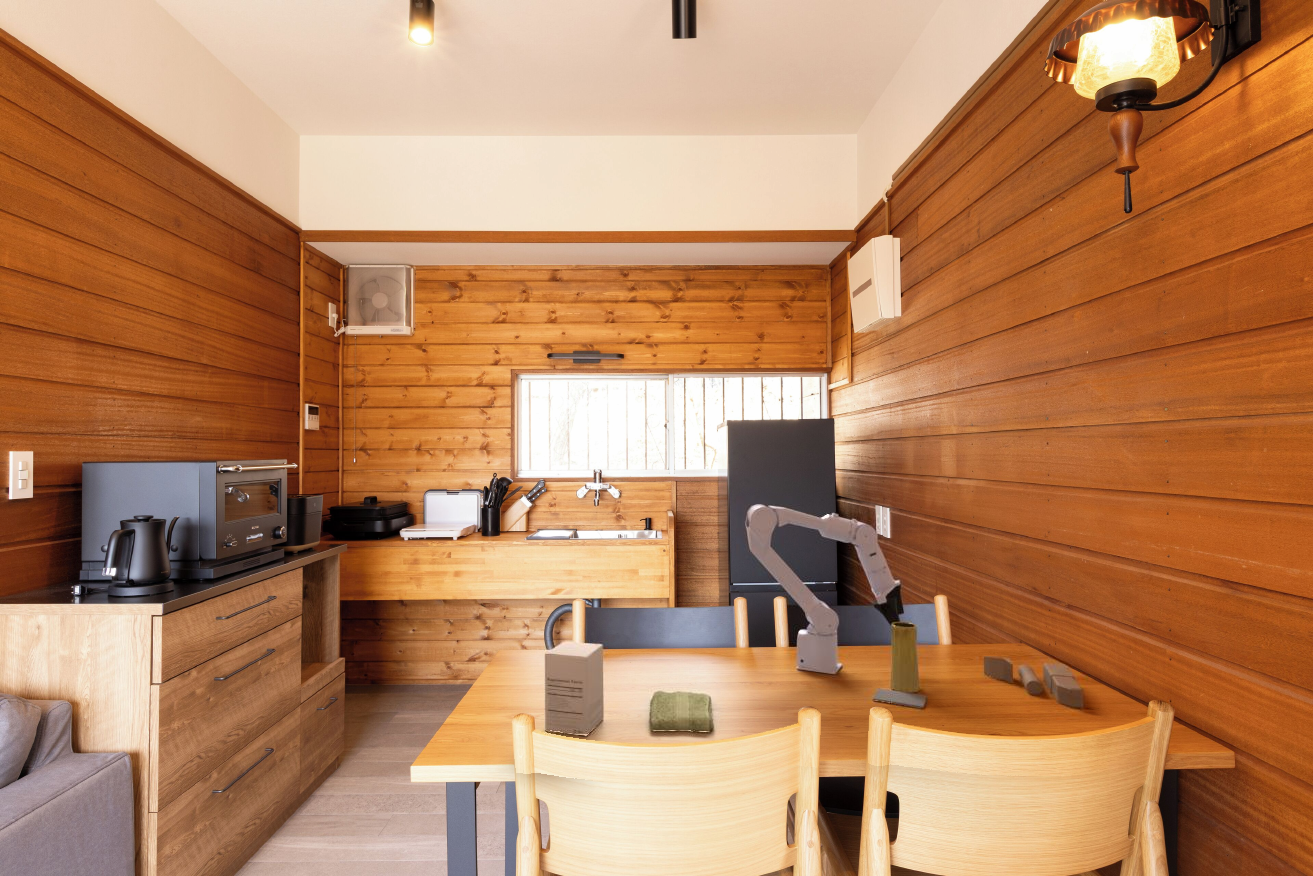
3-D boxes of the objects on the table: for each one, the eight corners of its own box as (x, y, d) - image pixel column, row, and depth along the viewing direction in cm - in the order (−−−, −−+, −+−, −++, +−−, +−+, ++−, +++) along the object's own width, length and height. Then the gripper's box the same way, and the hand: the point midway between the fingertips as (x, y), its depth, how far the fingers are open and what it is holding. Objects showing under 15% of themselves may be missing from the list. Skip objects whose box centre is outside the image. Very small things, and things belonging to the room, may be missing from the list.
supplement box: (563, 714, 134) (563, 640, 134) (604, 719, 131) (604, 643, 132) (543, 732, 125) (543, 652, 125) (586, 737, 122) (586, 656, 123)
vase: (922, 694, 144) (920, 628, 144) (892, 692, 145) (891, 627, 146) (916, 684, 150) (915, 621, 150) (888, 683, 151) (887, 620, 152)
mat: (872, 700, 140) (872, 698, 140) (878, 690, 146) (878, 688, 146) (923, 708, 135) (923, 706, 135) (926, 698, 142) (926, 695, 142)
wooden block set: (1064, 658, 152) (1084, 684, 135) (1065, 683, 151) (1085, 712, 135) (983, 651, 158) (992, 674, 141) (983, 675, 158) (992, 701, 141)
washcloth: (711, 702, 141) (711, 687, 141) (714, 736, 124) (714, 719, 124) (650, 701, 142) (650, 686, 142) (645, 735, 124) (645, 718, 124)
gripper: (888, 574, 154) (911, 628, 154) (895, 555, 167) (917, 605, 167) (859, 581, 158) (882, 634, 157) (869, 562, 171) (889, 611, 170)
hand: (898, 620), depth 162 cm, fingers open, 7 cm apart
